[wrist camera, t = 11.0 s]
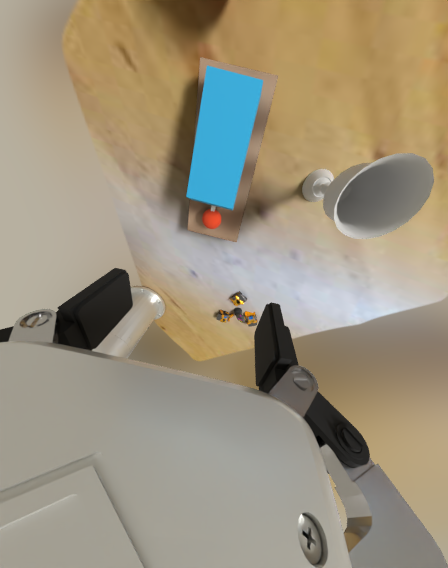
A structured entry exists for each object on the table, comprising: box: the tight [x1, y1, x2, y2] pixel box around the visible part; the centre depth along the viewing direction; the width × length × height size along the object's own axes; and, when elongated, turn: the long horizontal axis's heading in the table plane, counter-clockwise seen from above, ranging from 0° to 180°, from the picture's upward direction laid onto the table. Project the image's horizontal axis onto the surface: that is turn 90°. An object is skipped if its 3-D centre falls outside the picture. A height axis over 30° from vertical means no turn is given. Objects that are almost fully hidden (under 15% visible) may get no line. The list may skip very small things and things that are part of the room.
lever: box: [186, 66, 263, 229], centre depth 26 cm, size 7×7×18 cm
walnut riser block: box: [187, 57, 278, 242], centre depth 29 cm, size 22×10×4 cm, turn 169°
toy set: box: [217, 292, 257, 326], centre depth 48 cm, size 12×11×5 cm
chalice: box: [302, 153, 434, 239], centre depth 23 cm, size 7×7×18 cm
